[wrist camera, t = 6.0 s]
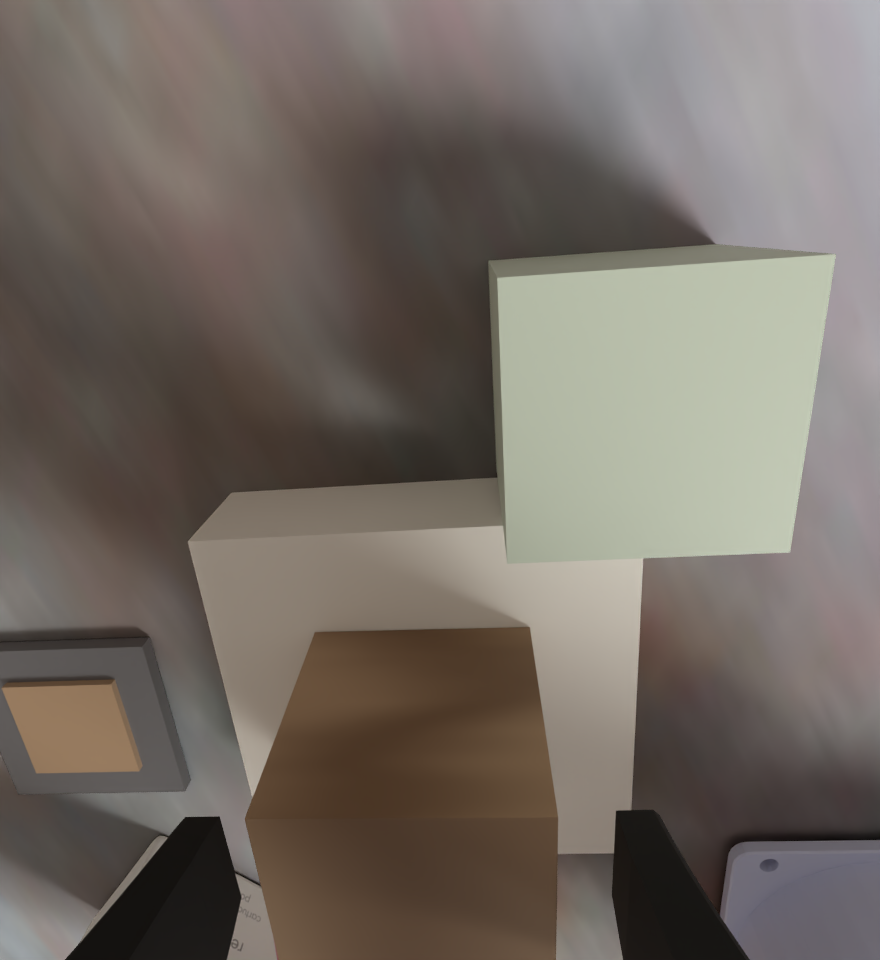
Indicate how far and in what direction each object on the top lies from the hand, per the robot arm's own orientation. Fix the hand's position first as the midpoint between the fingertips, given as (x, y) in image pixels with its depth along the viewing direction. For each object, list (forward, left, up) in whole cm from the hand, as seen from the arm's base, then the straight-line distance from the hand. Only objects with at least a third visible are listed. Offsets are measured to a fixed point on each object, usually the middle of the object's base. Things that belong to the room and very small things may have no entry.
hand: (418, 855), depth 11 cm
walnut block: (0, 0, -3) cm, 3 cm away
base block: (0, 0, -6) cm, 6 cm away
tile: (+10, +2, -6) cm, 12 cm away
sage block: (-4, -7, -6) cm, 10 cm away
